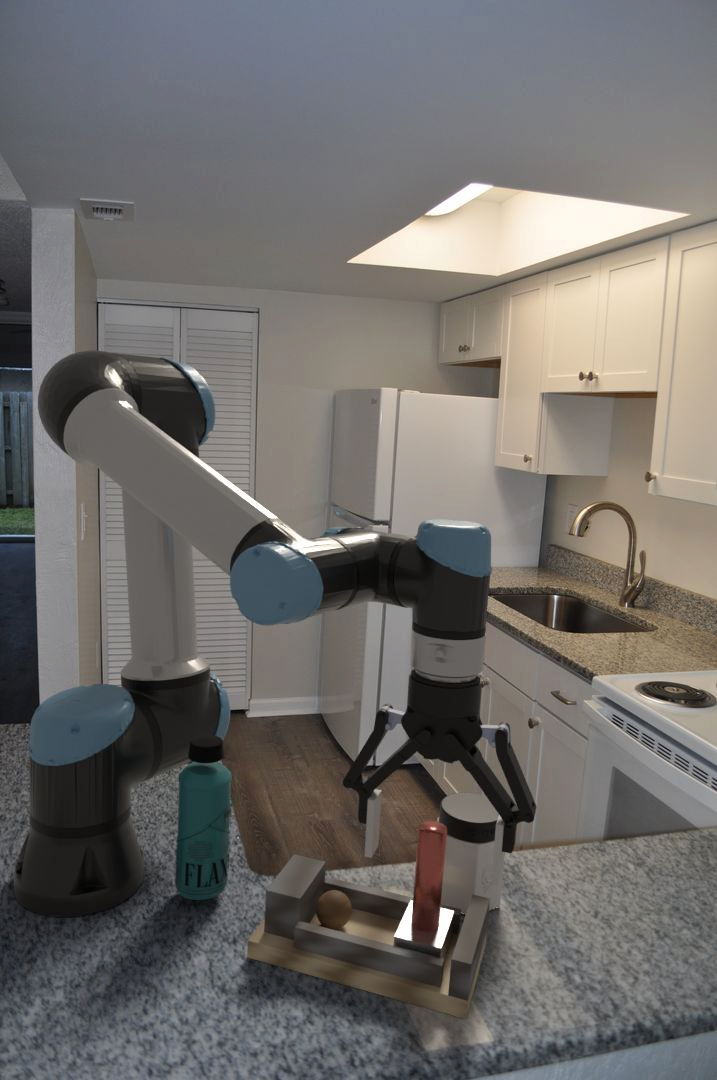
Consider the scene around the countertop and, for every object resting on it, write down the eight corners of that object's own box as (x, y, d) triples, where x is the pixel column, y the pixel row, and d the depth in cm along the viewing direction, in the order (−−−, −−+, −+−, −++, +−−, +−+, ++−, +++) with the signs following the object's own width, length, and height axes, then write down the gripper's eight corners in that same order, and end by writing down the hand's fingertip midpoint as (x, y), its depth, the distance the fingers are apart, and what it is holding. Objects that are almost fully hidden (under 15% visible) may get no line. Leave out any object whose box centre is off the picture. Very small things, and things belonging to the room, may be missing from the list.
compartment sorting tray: (247, 957, 88) (249, 897, 87) (289, 897, 99) (292, 844, 98) (466, 1019, 81) (472, 954, 80) (485, 947, 92) (490, 890, 91)
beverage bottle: (174, 915, 94) (179, 752, 91) (172, 883, 101) (176, 729, 98) (231, 909, 96) (238, 749, 93) (224, 878, 102) (231, 727, 100)
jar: (459, 925, 96) (467, 830, 94) (417, 889, 103) (424, 800, 101) (514, 904, 101) (523, 813, 99) (470, 871, 108) (478, 786, 106)
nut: (309, 931, 90) (311, 898, 89) (322, 911, 94) (324, 879, 93) (343, 940, 89) (346, 907, 88) (355, 920, 92) (357, 887, 92)
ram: (392, 962, 85) (401, 838, 83) (408, 924, 92) (417, 808, 90) (438, 974, 84) (449, 848, 82) (452, 935, 91) (462, 817, 88)
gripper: (319, 664, 84) (310, 857, 86) (568, 700, 76) (549, 910, 79) (342, 646, 91) (334, 825, 94) (572, 678, 83) (555, 871, 86)
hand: (432, 864), depth 86 cm, fingers open, 13 cm apart
